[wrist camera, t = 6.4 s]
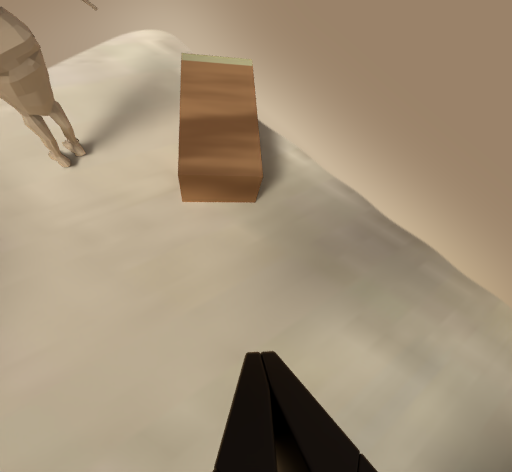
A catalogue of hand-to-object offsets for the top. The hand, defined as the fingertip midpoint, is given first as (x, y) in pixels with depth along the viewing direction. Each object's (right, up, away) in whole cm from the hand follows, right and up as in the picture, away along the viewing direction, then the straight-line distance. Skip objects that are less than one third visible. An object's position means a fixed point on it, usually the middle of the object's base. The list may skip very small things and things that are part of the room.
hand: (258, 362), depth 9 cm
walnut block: (-3, +7, +14) cm, 16 cm away
